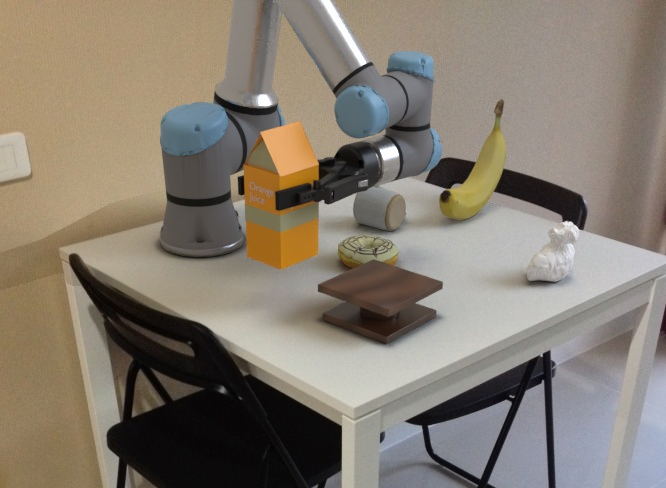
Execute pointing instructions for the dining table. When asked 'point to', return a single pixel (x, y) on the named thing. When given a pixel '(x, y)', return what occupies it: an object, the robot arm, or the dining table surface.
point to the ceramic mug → (379, 208)
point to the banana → (478, 176)
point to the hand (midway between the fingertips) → (258, 193)
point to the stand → (379, 300)
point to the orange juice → (260, 186)
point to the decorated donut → (367, 250)
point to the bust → (555, 254)
